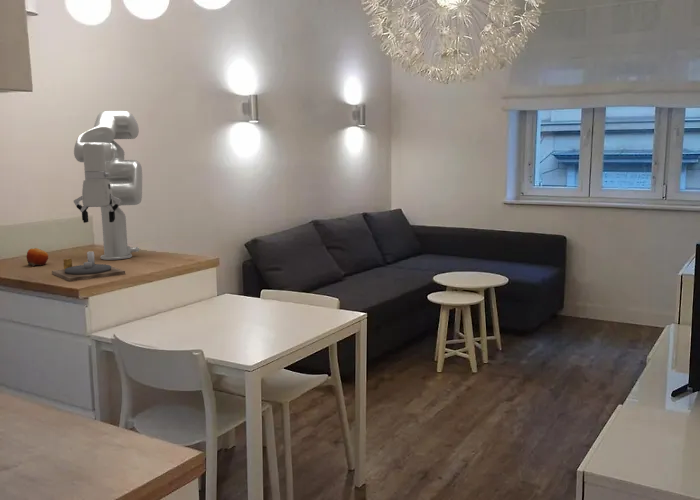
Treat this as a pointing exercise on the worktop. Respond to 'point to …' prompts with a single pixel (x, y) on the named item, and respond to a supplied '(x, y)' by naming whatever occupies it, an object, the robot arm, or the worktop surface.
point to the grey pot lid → (88, 267)
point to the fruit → (36, 257)
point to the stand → (73, 277)
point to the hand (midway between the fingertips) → (98, 222)
